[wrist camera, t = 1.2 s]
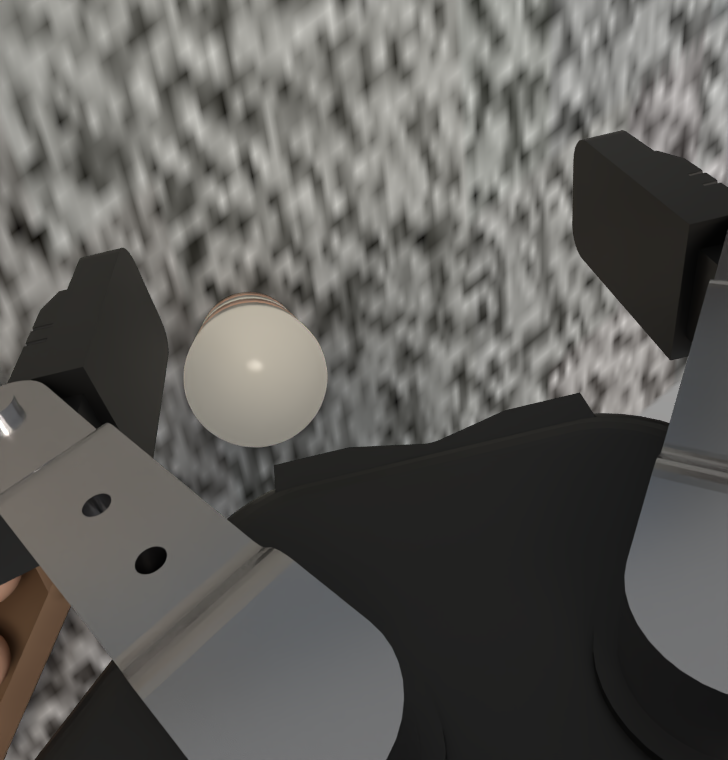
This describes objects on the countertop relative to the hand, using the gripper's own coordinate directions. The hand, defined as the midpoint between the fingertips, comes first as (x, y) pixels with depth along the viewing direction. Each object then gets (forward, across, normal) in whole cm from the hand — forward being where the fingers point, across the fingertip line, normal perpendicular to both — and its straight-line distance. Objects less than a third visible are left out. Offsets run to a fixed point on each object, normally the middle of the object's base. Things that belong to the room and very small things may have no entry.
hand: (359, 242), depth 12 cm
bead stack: (+15, +5, +11) cm, 19 cm away
